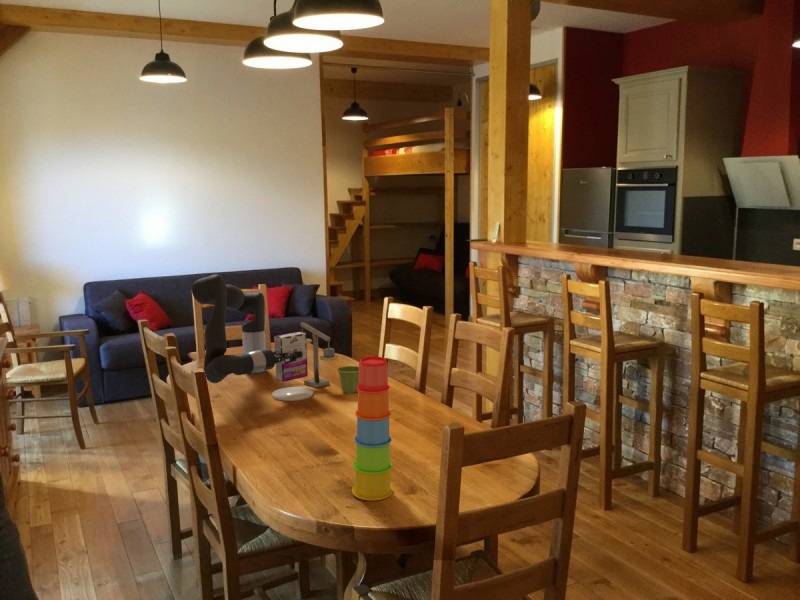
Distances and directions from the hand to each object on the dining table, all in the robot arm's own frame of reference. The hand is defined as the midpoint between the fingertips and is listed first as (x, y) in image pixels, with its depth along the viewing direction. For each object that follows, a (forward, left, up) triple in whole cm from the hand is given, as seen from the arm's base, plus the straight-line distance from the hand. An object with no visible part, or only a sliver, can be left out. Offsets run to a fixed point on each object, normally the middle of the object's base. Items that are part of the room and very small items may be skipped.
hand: (296, 352), depth 266 cm
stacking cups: (+83, -43, -16) cm, 95 cm away
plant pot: (+13, +15, -16) cm, 25 cm away
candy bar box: (0, -3, -9) cm, 10 cm away
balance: (-4, +13, -15) cm, 20 cm away
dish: (0, -2, -15) cm, 16 cm away
